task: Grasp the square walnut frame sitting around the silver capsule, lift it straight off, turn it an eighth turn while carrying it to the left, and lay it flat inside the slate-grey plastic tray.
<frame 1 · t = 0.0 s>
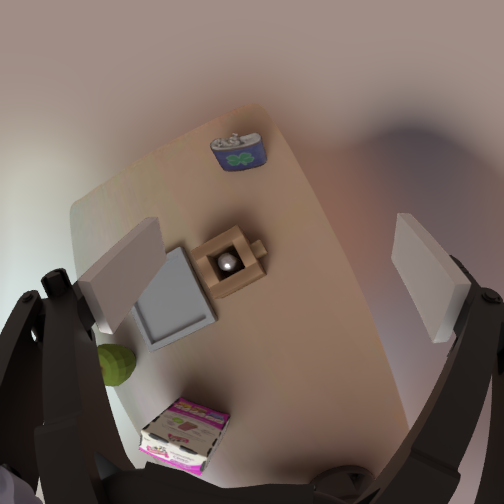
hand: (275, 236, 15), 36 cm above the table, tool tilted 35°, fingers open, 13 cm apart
flask: (244, 164, 54), on the table
silver capsule: (233, 265, 52), on the table
apple: (130, 358, 52), on the table
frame: (233, 265, 52), on the table
candy bar box: (203, 415, 49), on the table
tray: (167, 300, 53), on the table
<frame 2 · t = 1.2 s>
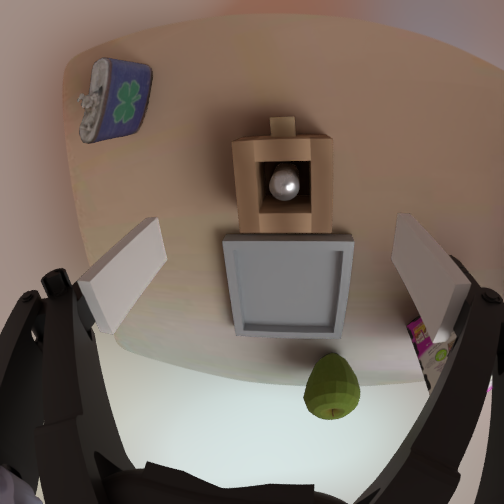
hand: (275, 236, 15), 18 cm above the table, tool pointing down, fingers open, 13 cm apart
flask: (139, 99, 28), on the table
silver capsule: (286, 174, 30), on the table
apple: (330, 357, 43), on the table
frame: (286, 174, 30), on the table
candy bar box: (438, 310, 35), on the table
tray: (289, 286, 37), on the table
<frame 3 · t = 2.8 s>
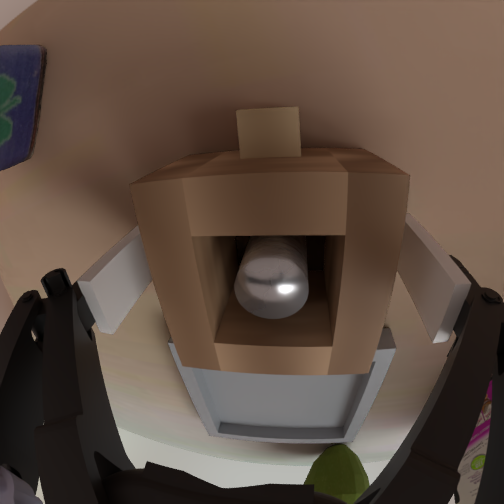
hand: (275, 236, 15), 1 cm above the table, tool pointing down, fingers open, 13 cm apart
flask: (32, 103, 13), on the table
silver capsule: (279, 231, 15), on the table
apple: (335, 446, 28), on the table
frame: (279, 231, 15), on the table
candy bar box: (479, 391, 21), on the table
tray: (282, 391, 22), on the table
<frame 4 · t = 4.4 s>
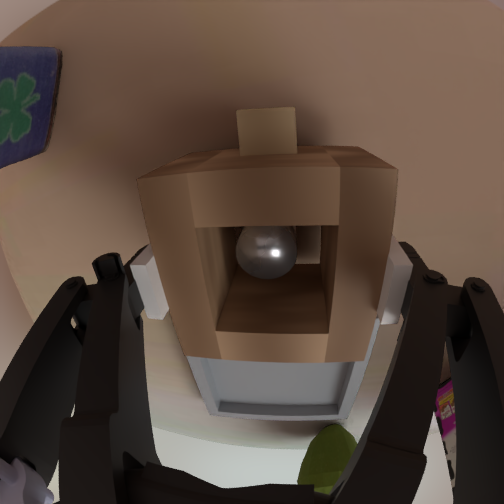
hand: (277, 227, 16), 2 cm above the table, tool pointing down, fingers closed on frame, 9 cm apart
flask: (48, 100, 15), on the table
silver capsule: (272, 211, 18), on the table
apple: (331, 427, 31), on the table
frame: (277, 225, 16), point 2 cm above the table, touching gripper
candy bar box: (468, 371, 24), on the table
tray: (278, 366, 25), on the table
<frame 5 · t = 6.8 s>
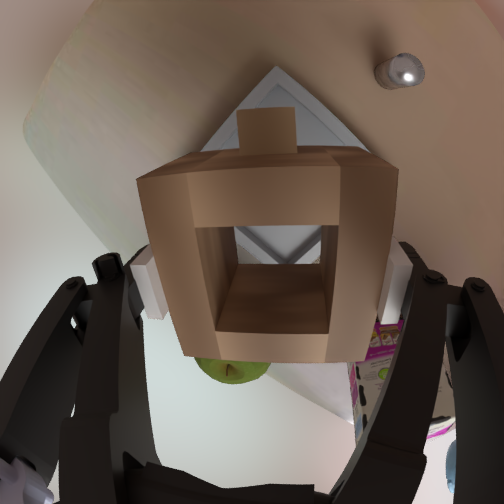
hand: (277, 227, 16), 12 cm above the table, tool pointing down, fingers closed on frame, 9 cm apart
silver capsule: (387, 76, 20), on the table
apple: (244, 301, 35), on the table
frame: (277, 225, 16), point 12 cm above the table, touching gripper
candy bar box: (384, 330, 34), on the table
tray: (284, 178, 27), on the table
when the fingers open (1 cm above the table, at t = 9.1 s): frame stays where it is, resting on tray.
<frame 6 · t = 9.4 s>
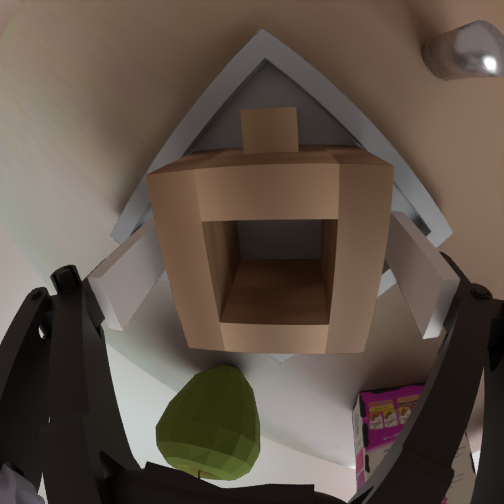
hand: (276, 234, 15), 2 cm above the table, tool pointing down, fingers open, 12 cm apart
silver capsule: (441, 58, 10), on the table
apple: (226, 370, 25), on the table
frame: (279, 221, 16), point 1 cm above the table, touching tray
candy bar box: (401, 395, 25), on the table
tray: (278, 217, 17), on the table
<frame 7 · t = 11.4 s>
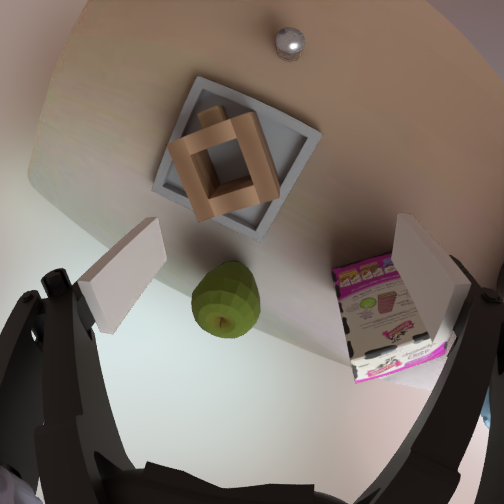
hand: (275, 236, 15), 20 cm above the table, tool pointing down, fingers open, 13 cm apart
silver capsule: (289, 50, 25), on the table
apple: (235, 270, 40), on the table
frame: (232, 158, 32), point 1 cm above the table, touching tray
candy bar box: (369, 271, 38), on the table
tray: (232, 158, 32), on the table
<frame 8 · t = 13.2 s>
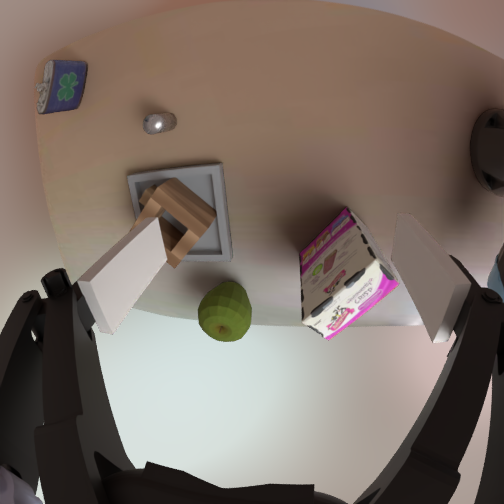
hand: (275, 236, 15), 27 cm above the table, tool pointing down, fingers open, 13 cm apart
flask: (80, 85, 35), on the table
silver capsule: (168, 121, 37), on the table
apple: (233, 288, 50), on the table
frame: (180, 214, 44), point 1 cm above the table, touching tray
candy bar box: (333, 239, 43), on the table
tray: (181, 213, 44), on the table
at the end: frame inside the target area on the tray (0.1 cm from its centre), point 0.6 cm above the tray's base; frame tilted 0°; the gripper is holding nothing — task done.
